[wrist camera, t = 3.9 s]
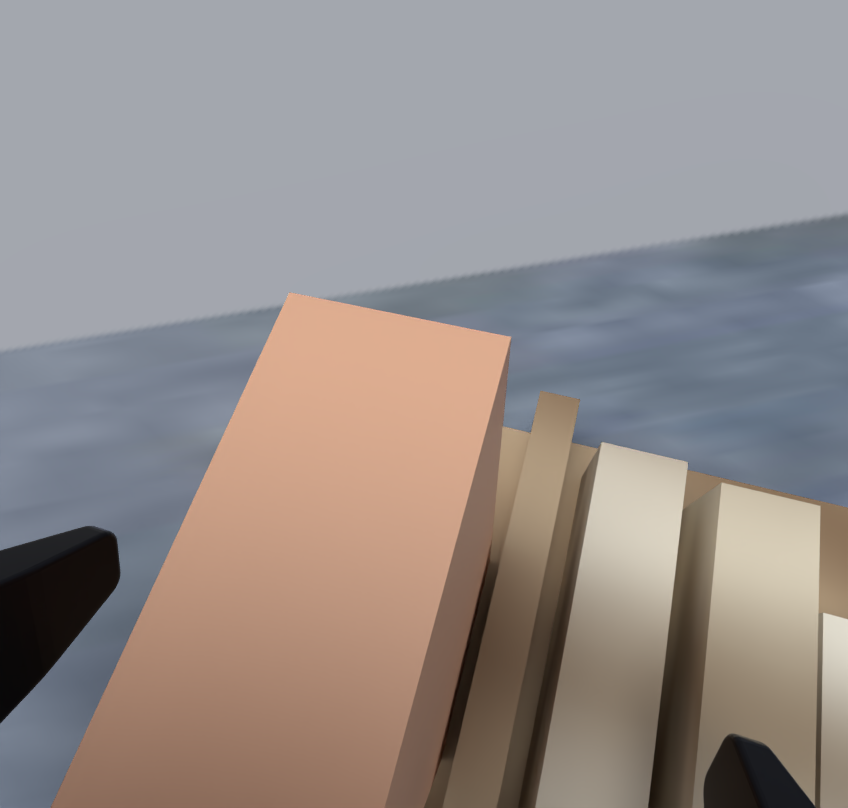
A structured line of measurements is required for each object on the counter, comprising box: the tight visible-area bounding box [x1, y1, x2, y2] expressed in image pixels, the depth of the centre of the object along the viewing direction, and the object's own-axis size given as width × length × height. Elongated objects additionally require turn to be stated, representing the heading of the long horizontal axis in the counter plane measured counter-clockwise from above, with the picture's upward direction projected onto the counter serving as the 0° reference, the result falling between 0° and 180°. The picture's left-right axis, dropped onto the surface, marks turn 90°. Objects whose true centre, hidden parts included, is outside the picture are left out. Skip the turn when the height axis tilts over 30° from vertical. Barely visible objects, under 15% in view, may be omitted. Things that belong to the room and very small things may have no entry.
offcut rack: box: [424, 391, 848, 808], centre depth 13 cm, size 13×15×5 cm
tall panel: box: [51, 293, 511, 808], centre depth 9 cm, size 5×2×12 cm, turn 164°
